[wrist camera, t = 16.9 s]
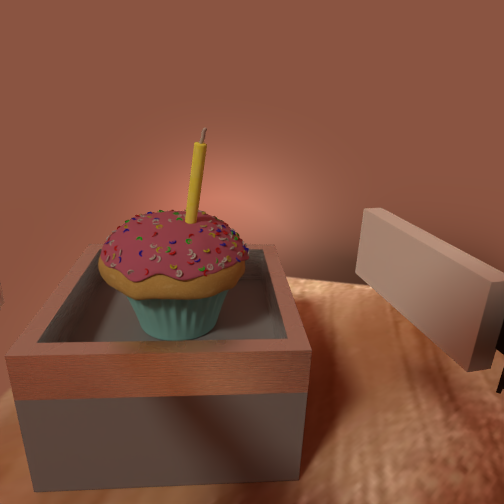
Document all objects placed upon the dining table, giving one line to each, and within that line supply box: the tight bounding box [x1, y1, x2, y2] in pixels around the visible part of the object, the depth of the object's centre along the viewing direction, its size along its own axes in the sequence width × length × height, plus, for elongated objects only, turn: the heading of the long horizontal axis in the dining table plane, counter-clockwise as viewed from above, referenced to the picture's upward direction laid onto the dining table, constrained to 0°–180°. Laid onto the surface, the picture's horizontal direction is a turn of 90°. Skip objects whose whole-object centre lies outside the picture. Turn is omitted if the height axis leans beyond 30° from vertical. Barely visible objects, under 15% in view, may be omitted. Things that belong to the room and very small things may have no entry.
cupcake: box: [98, 128, 250, 341], centre depth 25 cm, size 9×8×12 cm
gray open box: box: [14, 279, 308, 492], centre depth 28 cm, size 14×14×6 cm
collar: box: [5, 244, 312, 401], centre depth 27 cm, size 14×14×2 cm
